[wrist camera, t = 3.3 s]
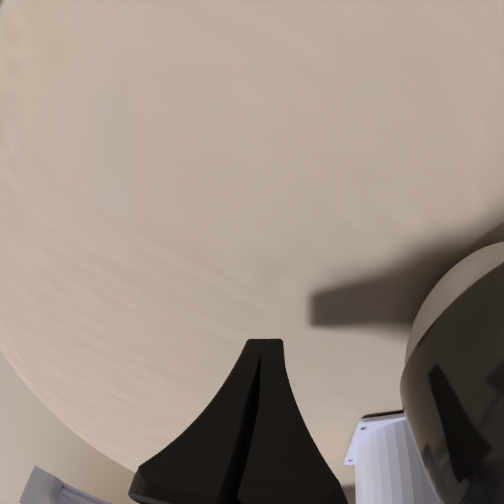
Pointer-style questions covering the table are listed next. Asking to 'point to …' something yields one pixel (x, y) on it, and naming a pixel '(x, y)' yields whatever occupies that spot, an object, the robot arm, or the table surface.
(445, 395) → the dark grey egg shape
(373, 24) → the table surface
